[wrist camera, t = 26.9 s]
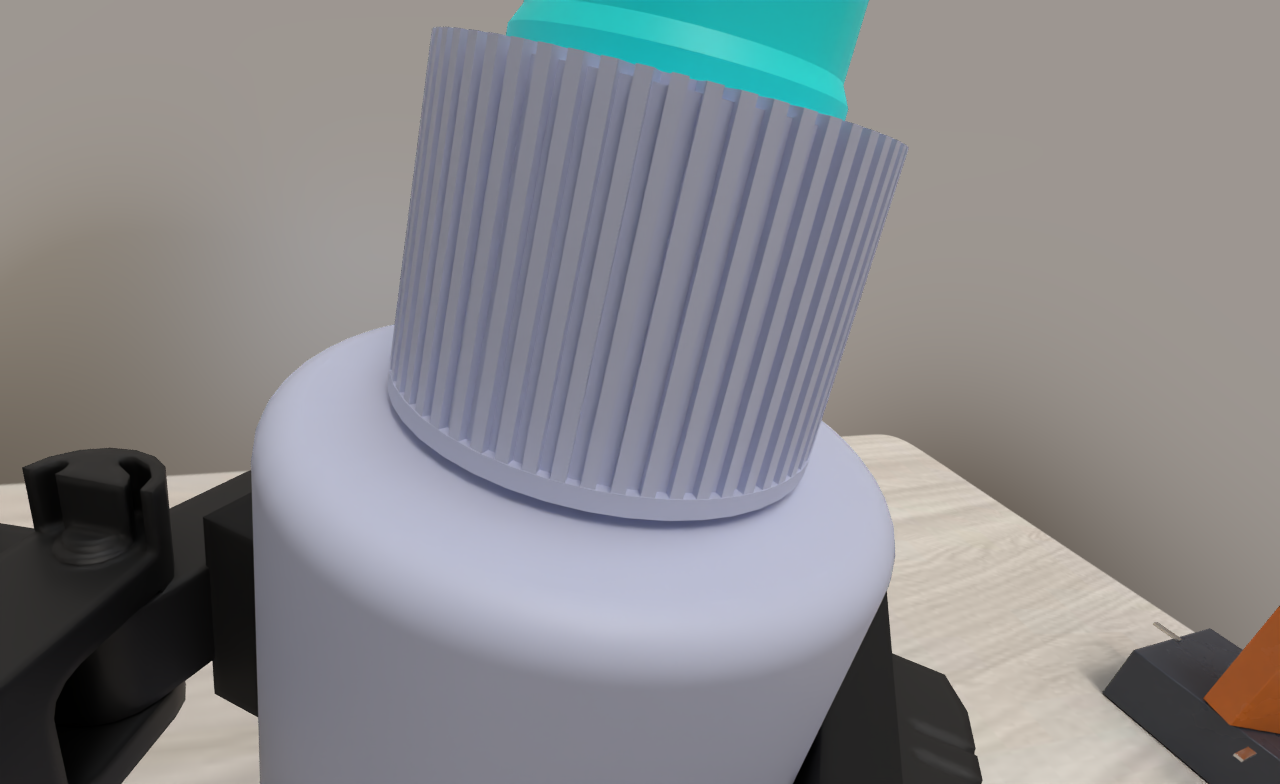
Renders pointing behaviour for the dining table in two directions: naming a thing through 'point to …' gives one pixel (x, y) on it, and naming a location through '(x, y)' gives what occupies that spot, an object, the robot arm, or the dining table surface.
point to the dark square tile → (1193, 708)
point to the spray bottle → (589, 420)
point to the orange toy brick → (1252, 683)
